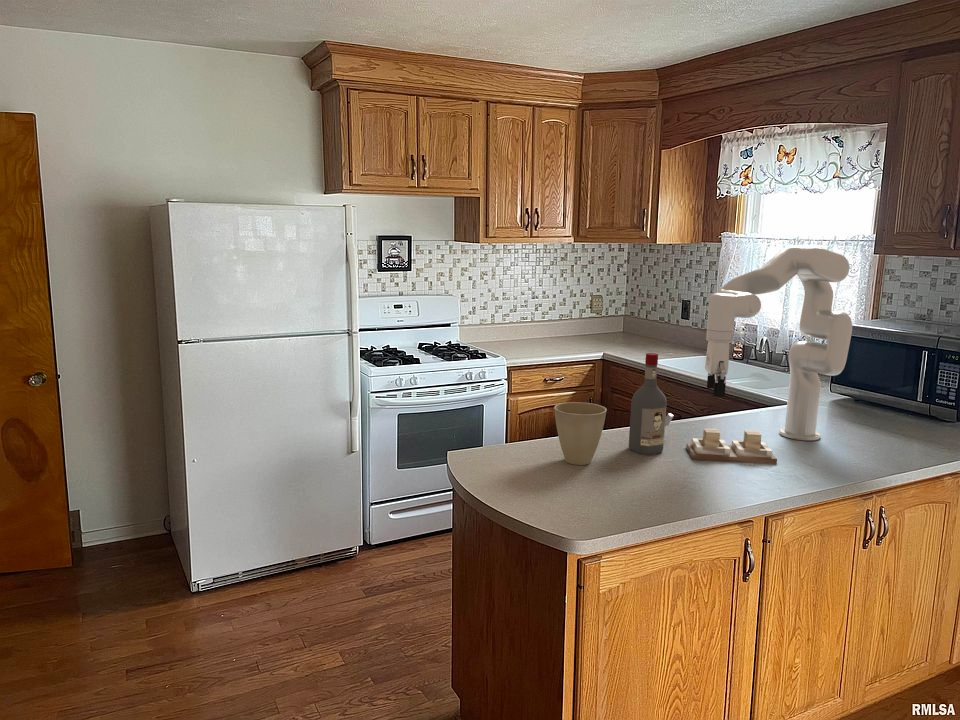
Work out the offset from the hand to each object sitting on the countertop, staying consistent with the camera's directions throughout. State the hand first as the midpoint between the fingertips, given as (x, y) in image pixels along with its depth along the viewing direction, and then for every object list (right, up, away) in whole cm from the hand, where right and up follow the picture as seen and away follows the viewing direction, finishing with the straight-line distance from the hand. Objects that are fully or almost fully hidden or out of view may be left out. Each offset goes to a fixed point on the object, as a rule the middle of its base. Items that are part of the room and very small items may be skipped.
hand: (715, 392), depth 225 cm
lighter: (-11, -15, +22) cm, 29 cm away
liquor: (-19, -18, +6) cm, 27 cm away
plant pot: (-42, -20, -5) cm, 47 cm away
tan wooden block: (-1, -18, +3) cm, 18 cm away
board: (+5, -19, +3) cm, 20 cm away
